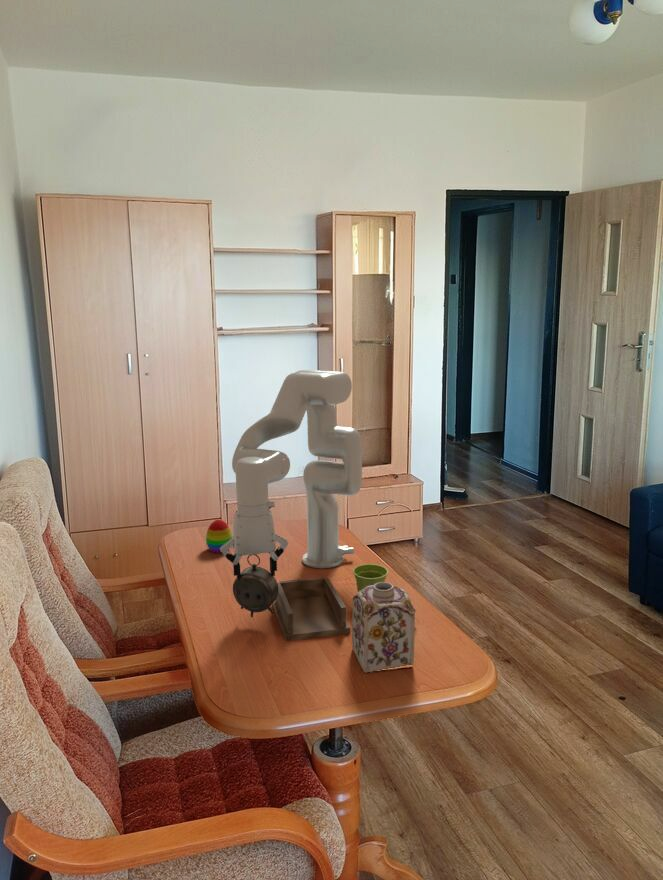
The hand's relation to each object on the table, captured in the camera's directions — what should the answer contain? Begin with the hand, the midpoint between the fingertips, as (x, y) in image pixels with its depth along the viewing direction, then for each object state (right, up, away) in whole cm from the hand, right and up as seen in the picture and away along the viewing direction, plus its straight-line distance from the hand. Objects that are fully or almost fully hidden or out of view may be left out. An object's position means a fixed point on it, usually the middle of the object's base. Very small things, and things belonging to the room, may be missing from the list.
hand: (255, 575), depth 177 cm
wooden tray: (+13, -12, +7) cm, 19 cm away
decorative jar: (+30, -17, -12) cm, 37 cm away
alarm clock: (0, -10, +3) cm, 11 cm away
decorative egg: (-17, -2, +53) cm, 55 cm away
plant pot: (+29, -10, +17) cm, 35 cm away
